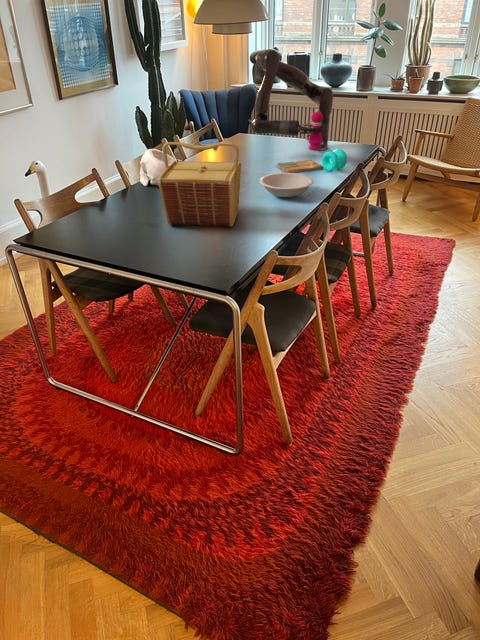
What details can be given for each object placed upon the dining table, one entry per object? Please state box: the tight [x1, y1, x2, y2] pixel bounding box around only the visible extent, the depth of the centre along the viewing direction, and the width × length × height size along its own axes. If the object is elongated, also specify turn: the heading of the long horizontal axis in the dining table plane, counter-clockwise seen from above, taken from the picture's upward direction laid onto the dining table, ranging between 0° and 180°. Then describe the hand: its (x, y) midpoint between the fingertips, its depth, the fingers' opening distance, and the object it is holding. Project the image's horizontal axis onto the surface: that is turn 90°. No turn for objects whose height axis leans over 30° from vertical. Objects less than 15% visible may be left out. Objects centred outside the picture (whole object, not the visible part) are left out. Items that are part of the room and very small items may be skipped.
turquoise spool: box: [321, 148, 348, 173], centre depth 244 cm, size 10×10×10 cm
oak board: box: [277, 159, 324, 173], centre depth 251 cm, size 14×20×2 cm
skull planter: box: [139, 148, 177, 187], centre depth 230 cm, size 14×20×19 cm
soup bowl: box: [259, 172, 315, 198], centre depth 215 cm, size 24×24×7 cm
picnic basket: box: [158, 141, 242, 228], centre depth 185 cm, size 29×26×30 cm
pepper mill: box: [308, 108, 323, 152], centre depth 248 cm, size 7×7×20 cm
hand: (321, 129), depth 247 cm, fingers closed on pepper mill, 4 cm apart
